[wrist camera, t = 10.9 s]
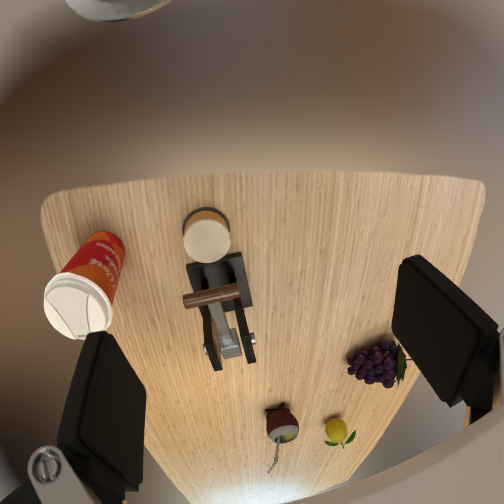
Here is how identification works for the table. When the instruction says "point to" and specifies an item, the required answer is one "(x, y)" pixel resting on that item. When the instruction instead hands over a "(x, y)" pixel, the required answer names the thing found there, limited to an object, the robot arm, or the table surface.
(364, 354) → the fruit
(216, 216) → the cake
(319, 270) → the table surface
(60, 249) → the table surface
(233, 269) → the lever base stand
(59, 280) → the coffee cup
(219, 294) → the lever
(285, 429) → the mate gourd
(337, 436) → the lemon
